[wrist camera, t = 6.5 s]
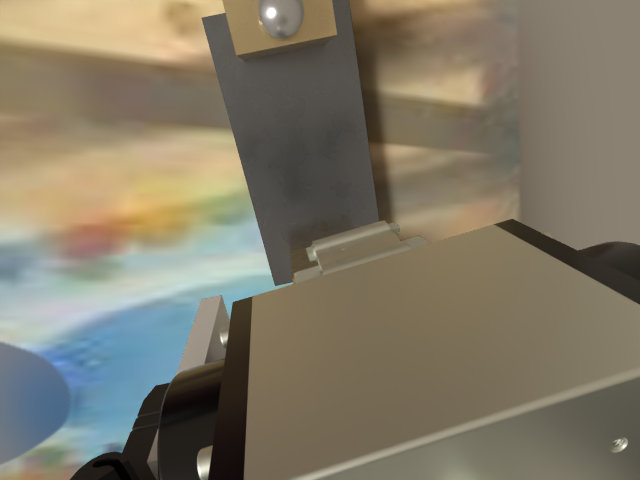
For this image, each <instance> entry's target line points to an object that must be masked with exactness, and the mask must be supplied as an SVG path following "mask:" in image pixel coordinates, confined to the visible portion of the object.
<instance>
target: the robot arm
mask: <svg viewBox="0 0 640 480" xmlns="http://www.w3.org/2000/svg"><path fill="white" fill-rule="evenodd" d="M228 326H230V319H229V316H228V313H227V310H226V307H225V304H224V301H223V298H222V295H220V296H215V297H210V298H205V299H201V302H200V305H199V308H198V311H197V314H196V317H195V320H194V323H193V326H192V329H191V332H190V335H189V338H188V341H187V344H186V347H185V350H184V353H183V356H182V359H181V362H180V365H179V368H178V371H177V374H178V373H180V372H181V371H183V370H187V369H190V368H193V367H197V366H200V365H203V364H207V363H210V362H213V361H216V360H220V359H223V358H225V354H226V348H224V347H223V345H222V343H221V340H220V330H221V329H222V328H225V327H228ZM177 374H176V375H177ZM169 385H170V383H166V384H162V385H157V386H155V387H154V389H153V390H152V391H151V392H150V393H149V395H148V396H147V397H146V398H145V399H144V401H143V403H142V406H141V408H140V411H139V413H138V418H137V419H136V420H135V423H134V425H133V428H132V429H133V430H132V431H131V433H130V435H129V437H128V440H127V442H126V445H125V447H124V450H123V452H122V453H119V452H110V453H105V454H102V455H100V456H98V457H96V458H94V459H92V460H90V461H89V462H88V463H86V464H85V465H84V466H83V467H81V468H80V469H79V470H78V471H77V472H76V473H75V474H74V476H73V477H72V478H71V479H70V480H159V478H158V464H157V440H158V426H159V419H160V413H161V407H162V404H163V400H164V396H165V394H166V391H167V389H168V387H169Z"/></svg>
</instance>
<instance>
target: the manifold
mask: <svg viewBox="0 0 640 480" xmlns="http://www.w3.org/2000/svg"><path fill="white" fill-rule="evenodd" d="M223 4H224V8H225V12H226V13H223V14H218V15H213V16H208V17H203V18H202V21H203V25H204V28H205V32H206V36H207V39H208V43H209V47H210V50H211V54H212V58H213V61H214V65H215V69H216V72H217V76H218V80H219V83H220V87H221V91H222V94H223V98H224V101H225V105H226V109H227V112H228V116H229V120H230V123H231V127H232V131H233V134H234V138H235V142H236V145H237V149H238V153H239V156H240V160H241V164H242V167H243V171H244V174H245V178H246V182H247V185H248V189H249V193H250V196H251V200H252V204H253V207H254V211H255V215H256V218H257V222H258V226H259V229H260V233H261V236H262V240H263V244H264V247H265V251H266V255H267V258H268V262H269V266H270V269H271V273H272V277H273V280H274V284H275V286H277V285H282V284H286V283H291V282H293V283H294V284H296V282H295V277H294V273H296V272H298V271H302V270H305V269H308V268H312V267H315V266H318V265H319V264H318V261H311V262H310V260H309V257H308V253H307V250H306V248H308V247H311V245H313V243H312V241H315V240H318V239H321V238H325V237H328V236H332V235H335V234H338V233H342V232H345V231H349V230H352V229H355V228H359V227H362V226H366V225H369V224H372V223H376V222H379V216H378V209H377V201H376V194H375V187H374V180H373V172H372V165H371V158H370V150H369V143H368V136H367V129H366V121H365V114H364V107H363V99H362V92H361V85H360V77H359V70H358V63H357V56H356V48H355V41H354V34H353V26H352V19H351V12H350V4H349V0H223ZM311 248H312V247H311Z"/></svg>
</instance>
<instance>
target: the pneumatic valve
mask: <svg viewBox="0 0 640 480" xmlns="http://www.w3.org/2000/svg"><path fill="white" fill-rule="evenodd" d="M398 232H400V227H399V225H396V224H395V223H394V222H393V223H390V224H388V223H386V221H385V220H383V221H379V222H376V223H372V224H369V225H366V226H362V227H359V228H355V229H352V230H349V231H345V232H342V233H338V234H335V235H332V236H328V237H325V238H321V239H318V240H315V241H312V243H313V245H311V247H312V248H311V247H308V248H306V250H307V253H308V257H309V260H310V262H311V261H318V264H319V265H318V266H315V267H312V268H308V269H305V270H302V271H298V272H296V273H294V277H295V282H296V284H292V285H289V286H286V287H282V288H279V289H276V290H272V291H269V292H266V293H262V294H259V295H256V296H252V297H249V298H245V299H242V300H239V301H235V302H233V305H232V312H231V319H230V326H228V327H225V328H222V329H221V330H220V340H221V343H222V345H223V347H224V348H226V354H225V358H223V359H220V360H216V361H213V362H210V363H207V364H203V365H200V366H197V367H193V368H190V369H187V370H183V371H181V372H180V373H178V374H177V375H176V376H175V377H174V378H173V380H172V381H171V383H170V385H169V387H168V389H167V391H166V394H165V396H164V400H163V404H162V407H161V413H160V419H159V426H158V440H157V464H158V478H159V480H640V245H637V244H633V243H627V242H605V243H601V244H598V245H595V246H591V247H588V248H585V249H582V250H578V251H577V250H575V249H573V248H571V247H569V246H567V245H565V244H563V243H561V242H559V241H557V240H555V239H553V237H552V236H551V234H549V233H548V232H538V231H536V230H534V229H532V228H530V227H528V226H526V225H524V224H522V223H520V222H518V221H516V220H514V219H510V220H507V221H504V222H500V223H497V224H494V225H490V226H487V227H484V228H480V229H477V230H473V231H470V232H467V233H463V234H460V235H457V236H453V237H450V238H447V239H443V240H440V241H437V242H433V243H430V244H428V243H427V242H426V240H425V239H424V238H422V237H421V236H416V237H413V238H409V239H406V240H403V241H400V239H399V238H398V237H397V236H398Z"/></svg>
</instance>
